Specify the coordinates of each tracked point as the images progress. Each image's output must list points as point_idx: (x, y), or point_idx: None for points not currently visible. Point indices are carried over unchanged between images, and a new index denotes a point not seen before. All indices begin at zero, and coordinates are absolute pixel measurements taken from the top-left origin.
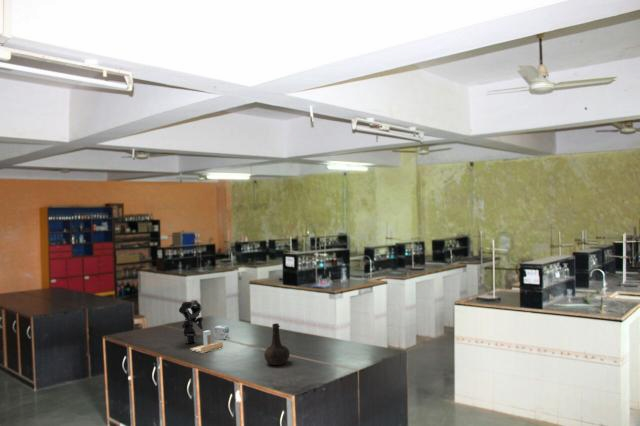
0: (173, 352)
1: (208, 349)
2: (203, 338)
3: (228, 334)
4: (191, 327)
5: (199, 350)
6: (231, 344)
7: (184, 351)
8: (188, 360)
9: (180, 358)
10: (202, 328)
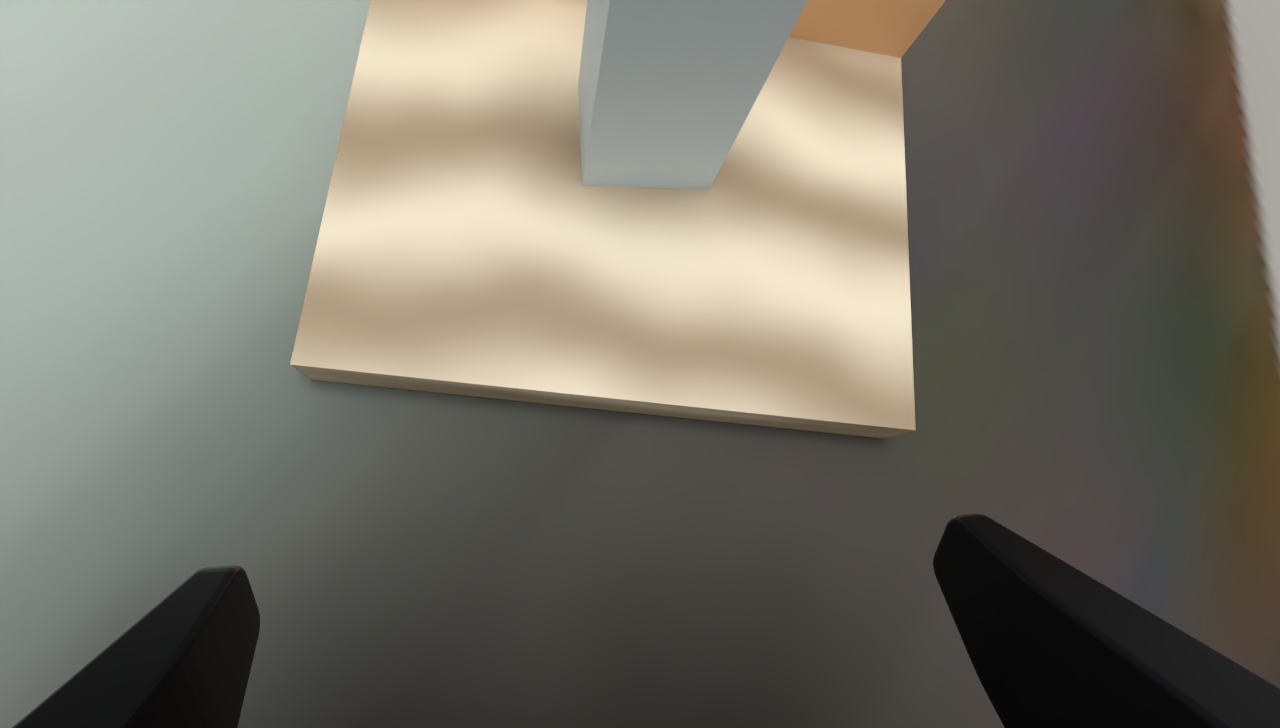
0: None
1: None
2: (787, 32)
3: None
4: (1277, 726)
5: (882, 126)
6: (40, 6)
7: None
8: (1174, 26)
9: (1214, 211)
10: (201, 569)
